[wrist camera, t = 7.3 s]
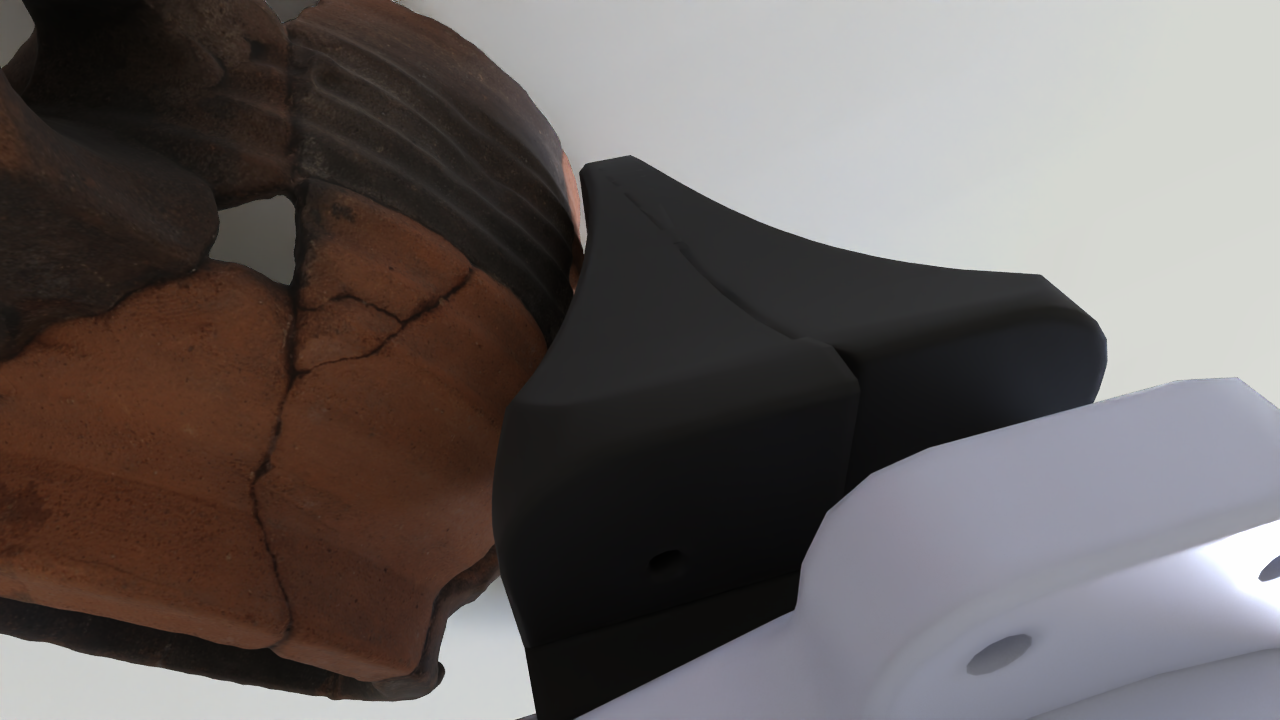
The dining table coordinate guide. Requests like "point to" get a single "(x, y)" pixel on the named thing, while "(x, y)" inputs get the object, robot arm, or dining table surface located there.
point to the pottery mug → (264, 335)
